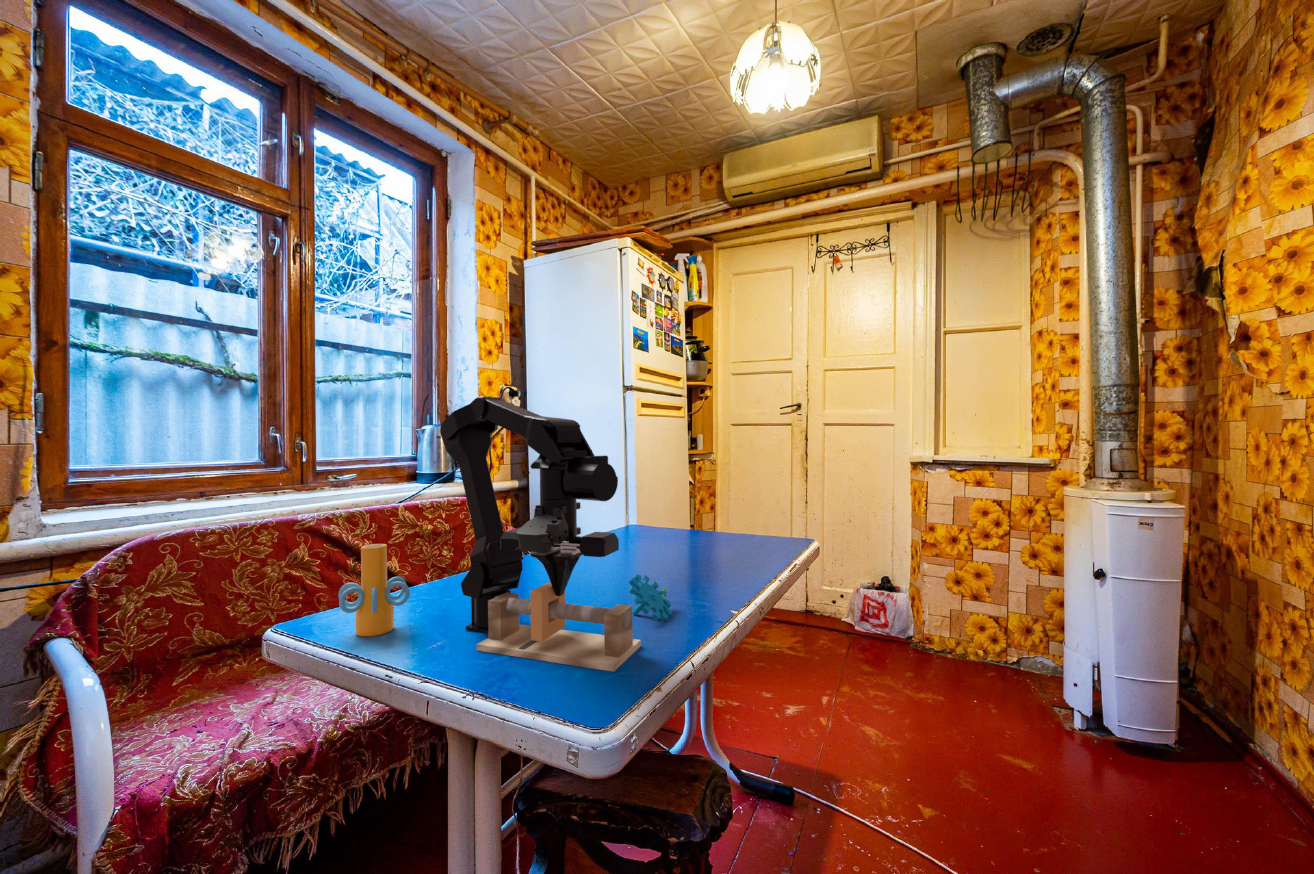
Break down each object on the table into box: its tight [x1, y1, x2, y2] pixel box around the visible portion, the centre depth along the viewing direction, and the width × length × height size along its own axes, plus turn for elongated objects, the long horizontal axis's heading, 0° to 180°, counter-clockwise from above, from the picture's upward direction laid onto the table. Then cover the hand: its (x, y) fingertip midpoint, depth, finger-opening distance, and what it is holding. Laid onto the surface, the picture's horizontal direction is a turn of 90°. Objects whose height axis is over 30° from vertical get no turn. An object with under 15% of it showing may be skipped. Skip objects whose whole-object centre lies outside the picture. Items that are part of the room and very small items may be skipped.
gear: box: [628, 574, 673, 622], centre depth 101 cm, size 11×6×10 cm
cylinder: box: [338, 543, 411, 637], centre depth 94 cm, size 12×10×15 cm
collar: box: [529, 581, 566, 642], centre depth 86 cm, size 2×7×8 cm, turn 159°
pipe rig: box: [476, 592, 642, 672], centre depth 85 cm, size 24×10×7 cm, turn 69°
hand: (559, 595), depth 85 cm, fingers closed
